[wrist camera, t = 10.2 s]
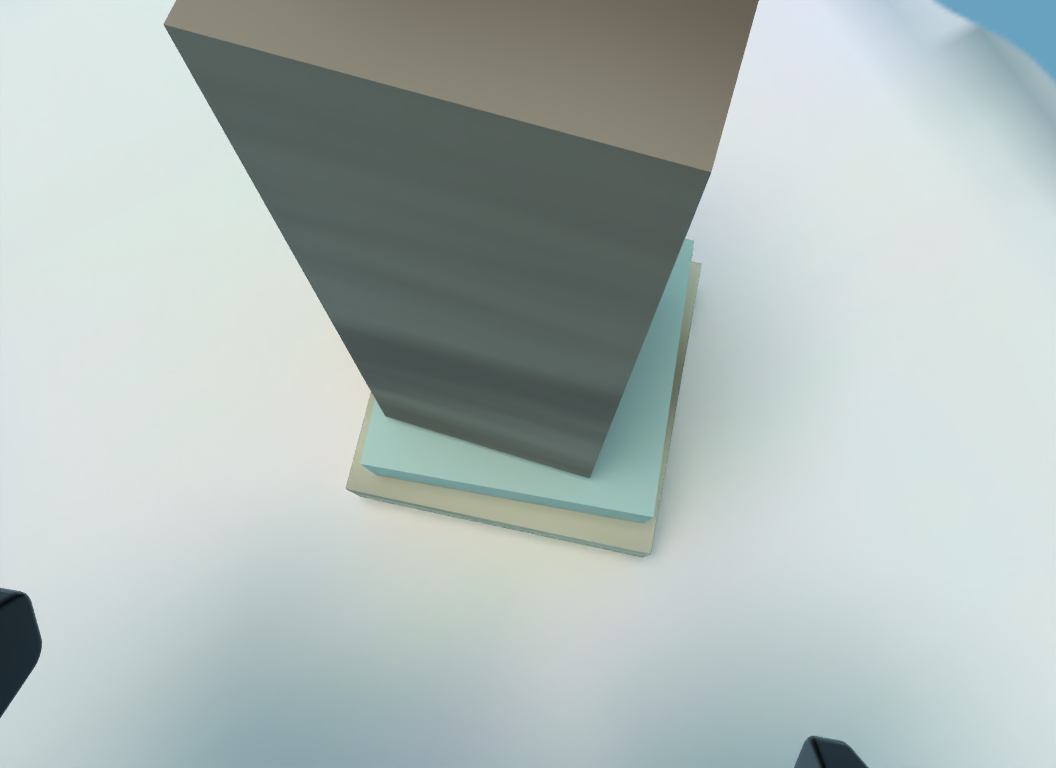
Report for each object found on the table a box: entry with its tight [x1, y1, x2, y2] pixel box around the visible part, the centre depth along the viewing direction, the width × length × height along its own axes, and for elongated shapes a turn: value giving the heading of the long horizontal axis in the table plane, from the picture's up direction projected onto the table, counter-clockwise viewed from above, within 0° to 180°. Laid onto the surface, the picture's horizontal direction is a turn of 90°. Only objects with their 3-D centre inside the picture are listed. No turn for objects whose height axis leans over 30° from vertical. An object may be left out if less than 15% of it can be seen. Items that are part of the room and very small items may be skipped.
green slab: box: [360, 239, 694, 524], centre depth 22 cm, size 7×7×2 cm
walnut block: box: [164, 0, 759, 478], centre depth 14 cm, size 5×5×13 cm
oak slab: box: [346, 262, 701, 557], centre depth 24 cm, size 8×8×2 cm
